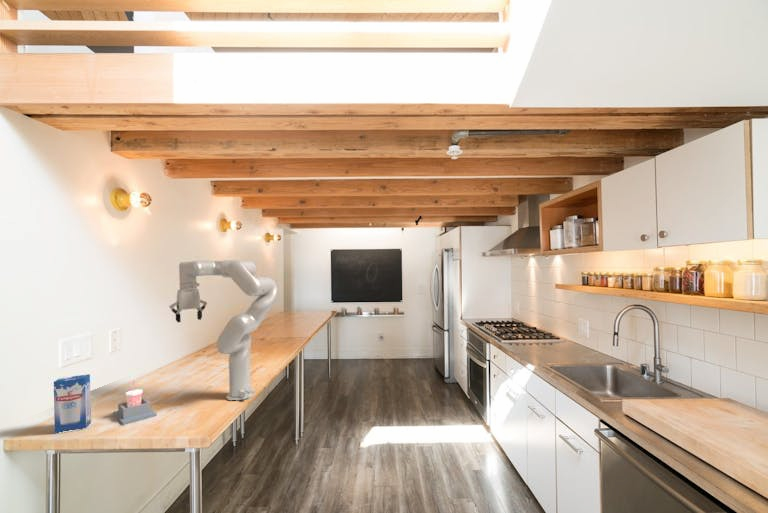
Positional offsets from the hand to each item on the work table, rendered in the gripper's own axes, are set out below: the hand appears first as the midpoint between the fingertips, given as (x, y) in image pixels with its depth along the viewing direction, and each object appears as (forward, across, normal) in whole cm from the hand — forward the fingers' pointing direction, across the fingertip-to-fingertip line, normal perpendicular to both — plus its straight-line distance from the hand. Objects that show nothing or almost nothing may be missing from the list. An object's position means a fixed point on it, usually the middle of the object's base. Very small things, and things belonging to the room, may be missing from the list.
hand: (189, 320), depth 187 cm
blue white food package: (+36, +46, +5) cm, 59 cm away
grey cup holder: (+36, +26, +9) cm, 46 cm away
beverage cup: (+36, +26, +9) cm, 45 cm away
